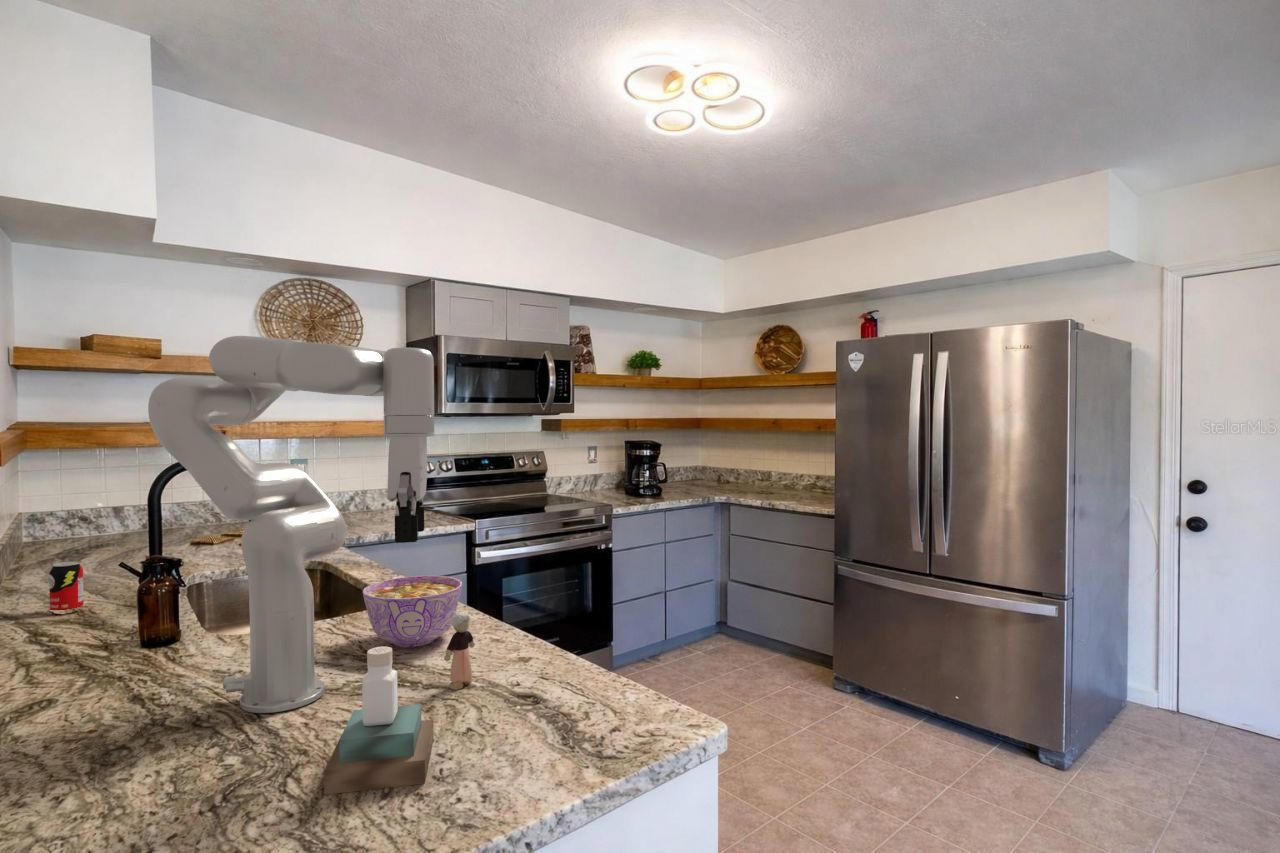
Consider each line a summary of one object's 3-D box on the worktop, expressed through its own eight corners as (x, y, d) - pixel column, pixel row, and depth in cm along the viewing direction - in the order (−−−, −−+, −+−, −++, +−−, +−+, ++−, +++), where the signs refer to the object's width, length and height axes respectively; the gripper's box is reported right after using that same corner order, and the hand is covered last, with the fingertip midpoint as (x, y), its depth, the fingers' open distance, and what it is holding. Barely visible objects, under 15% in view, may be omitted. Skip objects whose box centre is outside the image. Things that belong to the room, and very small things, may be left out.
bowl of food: (407, 664, 129) (406, 604, 129) (342, 646, 139) (341, 590, 139) (482, 635, 146) (482, 582, 146) (419, 621, 156) (419, 571, 156)
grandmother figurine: (461, 692, 115) (461, 618, 115) (441, 691, 116) (440, 617, 116) (481, 676, 123) (480, 606, 123) (461, 674, 124) (461, 605, 124)
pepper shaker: (393, 725, 90) (393, 654, 90) (361, 728, 89) (360, 656, 89) (398, 712, 94) (397, 644, 94) (367, 715, 93) (367, 646, 93)
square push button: (324, 794, 84) (323, 746, 84) (345, 748, 96) (344, 706, 96) (425, 783, 87) (424, 736, 87) (433, 739, 98) (433, 698, 98)
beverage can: (59, 609, 168) (58, 561, 168) (89, 607, 170) (88, 560, 170) (43, 616, 162) (43, 566, 162) (74, 615, 164) (73, 565, 163)
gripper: (392, 427, 114) (393, 528, 114) (374, 428, 97) (375, 547, 97) (438, 426, 115) (439, 527, 115) (428, 427, 98) (430, 545, 98)
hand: (410, 536), depth 106 cm, fingers open, 9 cm apart
